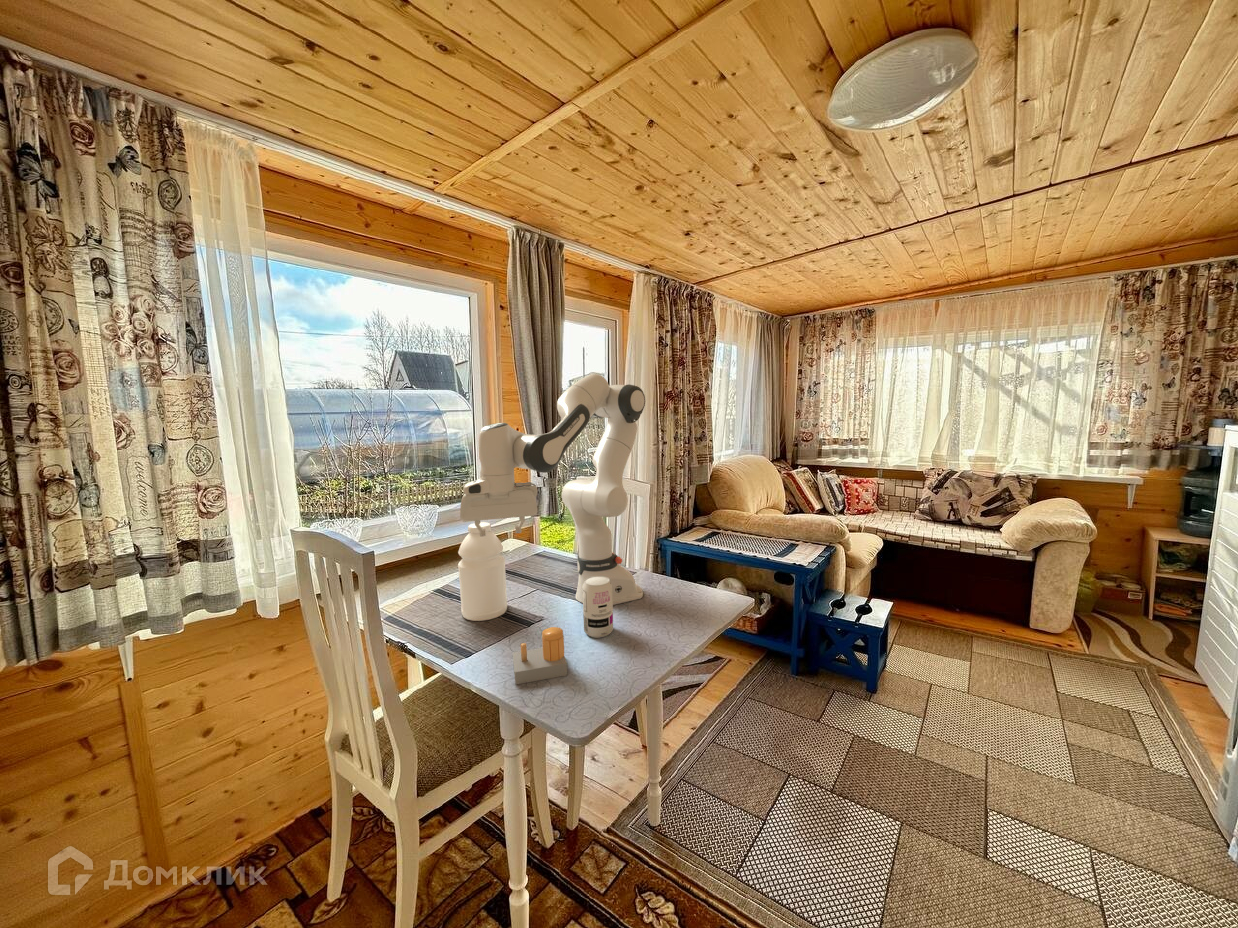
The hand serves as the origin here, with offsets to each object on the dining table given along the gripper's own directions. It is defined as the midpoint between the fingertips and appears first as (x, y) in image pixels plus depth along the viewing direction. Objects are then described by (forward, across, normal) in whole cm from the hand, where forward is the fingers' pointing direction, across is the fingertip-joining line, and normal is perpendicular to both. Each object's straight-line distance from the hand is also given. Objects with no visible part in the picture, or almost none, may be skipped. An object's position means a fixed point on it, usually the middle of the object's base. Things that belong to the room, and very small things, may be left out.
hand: (500, 534), depth 126 cm
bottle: (+29, +6, -18) cm, 35 cm away
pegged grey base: (+29, -7, +20) cm, 36 cm away
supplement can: (+29, -25, +6) cm, 39 cm away
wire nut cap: (+26, -11, +20) cm, 34 cm away
